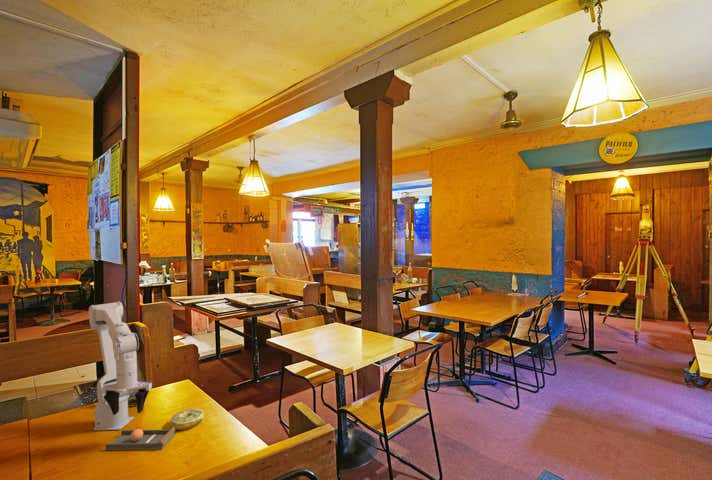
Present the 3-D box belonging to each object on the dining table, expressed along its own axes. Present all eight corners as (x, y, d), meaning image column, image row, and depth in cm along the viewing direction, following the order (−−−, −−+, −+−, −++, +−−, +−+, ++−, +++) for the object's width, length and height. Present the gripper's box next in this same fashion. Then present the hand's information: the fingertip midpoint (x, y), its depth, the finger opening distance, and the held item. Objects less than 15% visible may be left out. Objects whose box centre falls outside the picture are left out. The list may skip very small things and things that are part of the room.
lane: (105, 450, 110) (105, 442, 110) (122, 435, 118) (122, 427, 118) (162, 449, 110) (161, 441, 110) (175, 434, 118) (175, 427, 118)
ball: (127, 443, 112) (127, 432, 112) (135, 437, 115) (134, 426, 115) (139, 443, 112) (138, 432, 112) (145, 437, 115) (145, 426, 115)
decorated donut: (209, 420, 127) (209, 410, 127) (182, 435, 117) (182, 424, 117) (191, 413, 132) (191, 403, 132) (164, 427, 122) (164, 416, 122)
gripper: (95, 378, 109) (96, 420, 110) (143, 375, 111) (145, 417, 111) (109, 369, 116) (110, 409, 117) (154, 367, 118) (155, 406, 118)
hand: (128, 412), depth 114 cm, fingers open, 7 cm apart
